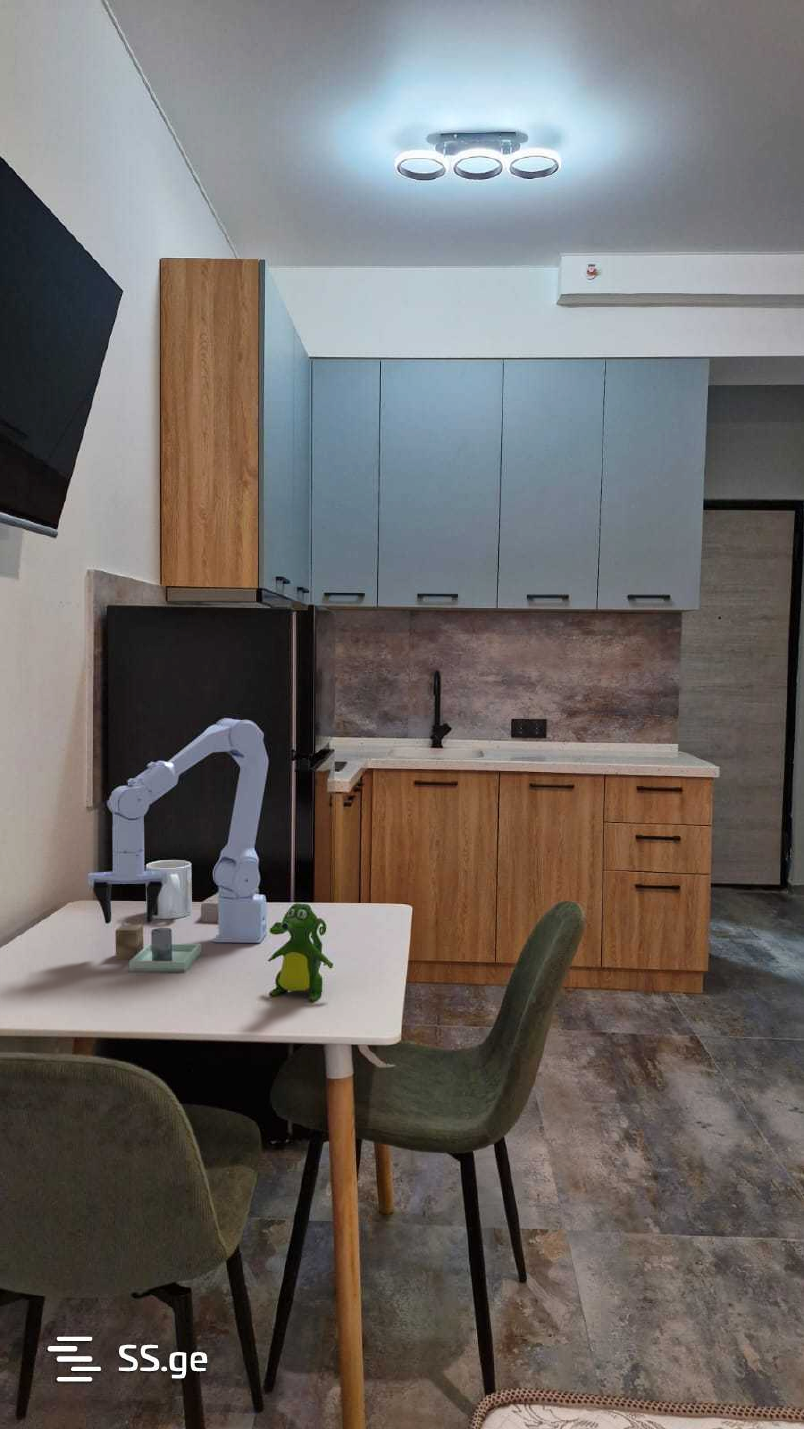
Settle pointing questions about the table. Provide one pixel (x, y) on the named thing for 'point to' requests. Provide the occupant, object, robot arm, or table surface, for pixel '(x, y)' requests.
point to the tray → (180, 961)
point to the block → (129, 941)
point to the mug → (173, 889)
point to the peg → (161, 944)
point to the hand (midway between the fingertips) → (129, 921)
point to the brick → (212, 908)
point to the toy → (300, 952)
